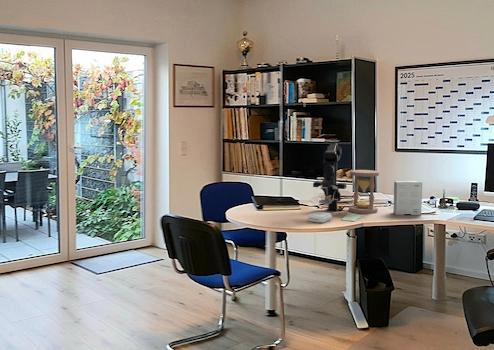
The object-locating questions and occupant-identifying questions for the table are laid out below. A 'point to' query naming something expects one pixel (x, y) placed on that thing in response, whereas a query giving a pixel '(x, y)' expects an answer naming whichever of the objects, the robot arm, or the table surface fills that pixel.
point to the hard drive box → (407, 197)
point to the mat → (351, 217)
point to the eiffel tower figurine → (444, 203)
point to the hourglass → (364, 183)
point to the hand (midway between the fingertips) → (329, 199)
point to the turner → (327, 200)
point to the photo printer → (319, 217)
